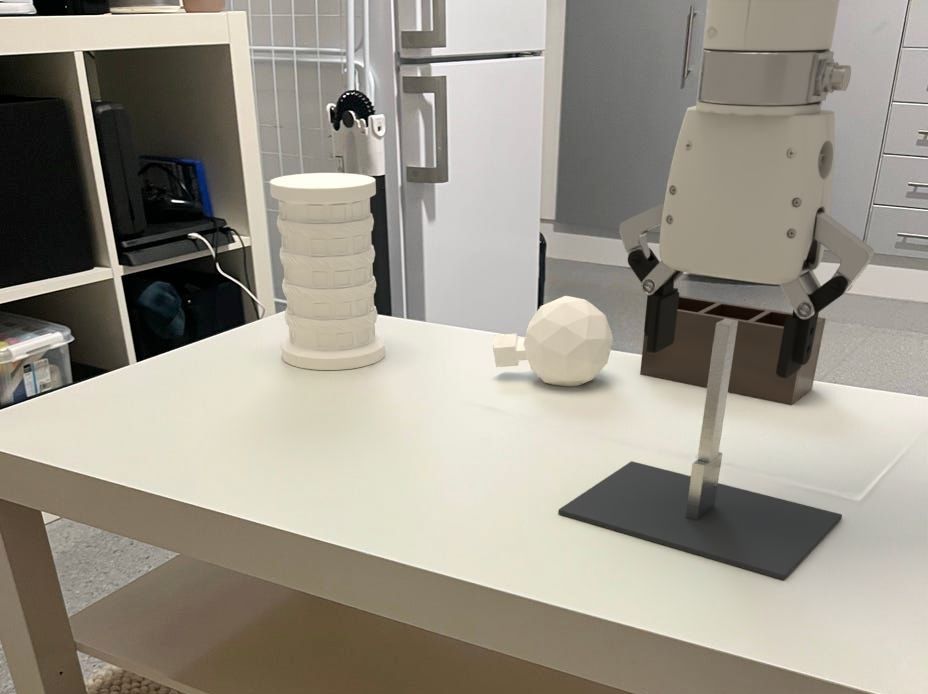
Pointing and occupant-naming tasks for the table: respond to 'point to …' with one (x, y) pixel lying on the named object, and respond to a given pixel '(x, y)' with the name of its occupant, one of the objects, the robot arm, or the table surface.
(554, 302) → the perfume bottle
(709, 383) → the stepped grey rod
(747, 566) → the mat
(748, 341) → the box
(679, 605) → the table surface
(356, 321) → the decorative container
